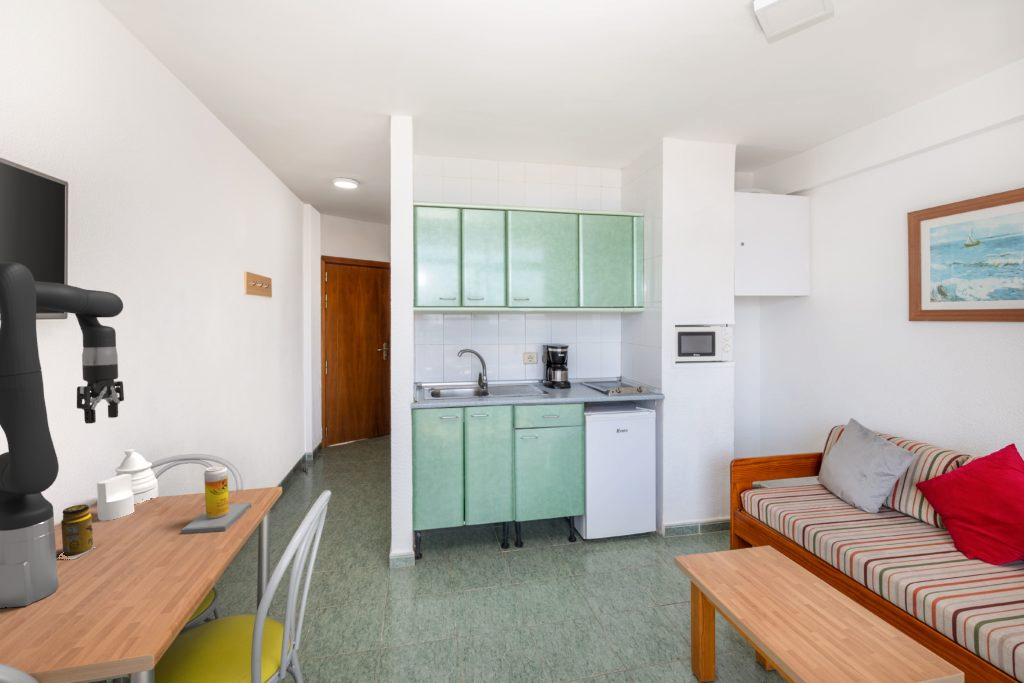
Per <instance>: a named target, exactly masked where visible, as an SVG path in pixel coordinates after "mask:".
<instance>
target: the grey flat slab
mask: <svg viewBox="0 0 1024 683" xmlns="http://www.w3.org/2000/svg"><path fill="white" fill-rule="evenodd" d="M251 507H252V502H248V503H247V502H244V503H232V504H230V503H229V512H228V513H227V514H226V515H225V516H223V517H220V518H214V519H211V518H208V516H206V510H204V512H202V513H201V514H200V515H199V516H197V517H196V518H195V519H193V520H192V521H191V522H189V523H188V524H187V525H186V526H184V527H183V528H182V529H181V530H180V531H181V533H180V534H181V535H183V534H185V533H187V534H199V533H201V534H202V533H212V532H213V533H215V532H214V531H216V532H225V531H226V532H227V530H229V528H230V527H231V526H232V525H234V524H235V523H236V522H237V520H238V518H239V517H240V516H241V515H242V514H243V513H244V512H245V511H246V510H247V509H248V510H249V509H251ZM248 510H247V511H248ZM247 511H246V512H247ZM246 512H245V513H246ZM245 513H244V514H245ZM244 514H243V515H244ZM243 515H242V516H243ZM242 516H241V517H242ZM241 517H240V518H241ZM240 518H239V519H240ZM185 535H186V534H185Z"/></svg>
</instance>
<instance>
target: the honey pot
mask: <svg viewBox="0 0 1024 683" xmlns="http://www.w3.org/2000/svg"><path fill="white" fill-rule="evenodd" d="M123 452H124V454H125V457H124V459H123V460H122V462H121V463H120V465H119V466H117V467H116V468H115V470H114V471H115V472H116V475H115V477H116V476H119V475H122V474H131V485H132V492H133V494H134V504H136V505H138V504H137V503H140V504H143V503H142V502H144V501H146V500H150V498H154V499H156V498H157V497H159V484H158V482H159V481H158V479H157V478H156V475H155V474H154V471H153V469H152V468H151V467H152V465H153V463H152V462H150V461H147V460H146V459H145V457H144V456H142V455H141V454H140V453H138V452H137V451H135V449H133V448H129V449H125V450H124V451H123ZM142 499H143V500H142ZM150 501H151V500H150ZM144 503H145V502H144Z"/></svg>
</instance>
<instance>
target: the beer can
mask: <svg viewBox="0 0 1024 683" xmlns="http://www.w3.org/2000/svg"><path fill="white" fill-rule="evenodd" d="M203 476H204V493H205V494H204V498H205V499H204V500H205V511H206V516H208V518H211V519H214V518H220V517H223V516H225V515H226V514H227V513H228V512H229V504H230V500H229V478H228V476H229V475H228V469H227V467H226V465H223V464H222V465H213V466H209V467H206V469H205V471H204V474H203Z"/></svg>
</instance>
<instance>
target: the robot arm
mask: <svg viewBox="0 0 1024 683" xmlns="http://www.w3.org/2000/svg"><path fill="white" fill-rule="evenodd" d="M37 309H43V310H51V311H54V312H62V313H66V314H67V313H69V314H73V315H75V317H76V320H77V322H78V325H79V327H80V330H81V334H82V353H81V361H82V365H81V366H82V367H81V368H82V380H83V381H85V382H87V383H86V386H85V385H84V386H83V385H81V386H77V387H76V409H78V410H79V409H80V410H83V411H84V413H83V414H84V416H83V417H84V423H85V424H95V423H96V419H97V417H96V413H97V412H96V408H97V405H98V403H100V402H102V400H105V401H106V403H107V417H108V418H109V419H110V418H111V419H114V418H118V417H119V404H120V403H121V402H124V401H125V395H124V394H125V391H124V382H123V381H122V380H121V381H120V380H118V379H119V362H118V360H119V359H118V358H119V357H118V351H117V338H116V337H117V336H116V335H117V334H116V333H117V332H116V330H115V328H114V327H112V326H108V325H102V324H101V323H100V322H99V320H98V318H114V317H117V316H118V315H120V314H121V313H122V311H123V310H124V303H123V301H122V299H121V298H120V296H118V295H117V294H115V293H113V292H110V291H103V290H94V289H93V290H92V289H86V288H85V289H84V288H81V287H79V286H73V285H69V284H65V283H60V282H48V281H40V280H38V281H37V280H35V279H34V276H33V274H32V272H31V270H30V269H29V268H28V267H27V266H26V265H24V264H22V263H19V262H13V261H9V262H8V261H6V262H5V261H2V262H0V427H1V429H2V432H3V433H4V436H5V438H6V441H7V442H6V443H7V449H8V451H6V452H3V453H2V454H1V453H0V609H5V607H7V608H15V607H16V608H17V607H19V608H20V607H27V606H29V605H30V604H33V603H35V602H37V601H40V600H42V599H44V598H47V597H48V596H50V595H52V594H54V593H55V592H56V591H57V590H58V588H59V578H58V577H59V576H58V575H59V574H58V560H57V559H56V554H57V545H56V532H55V531H56V530H55V529H56V528H55V518H54V517H55V514H54V513H55V512H54V506H53V504H52V502H50V501H49V500H47V498H45V497H44V496H43V492H45V491H46V490H48V489H49V488H50V487H51V486H52V485H53V484H54V483H55V481H56V480H57V477H58V475H59V471H60V470H59V469H60V468H59V467H60V466H59V465H60V464H59V460H58V456H57V452H56V449H55V446H54V440H53V438H52V435H51V431H50V426H49V419H48V418H49V417H48V413H47V411H48V410H47V405H46V399H45V388H44V379H43V378H44V377H43V373H42V372H43V371H42V366H41V361H40V360H41V359H40V354H39V344H38V336H37V335H38V333H37ZM83 401H84V402H83Z"/></svg>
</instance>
